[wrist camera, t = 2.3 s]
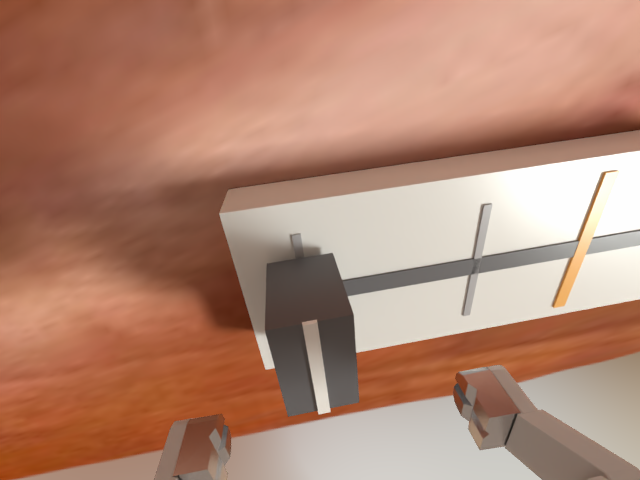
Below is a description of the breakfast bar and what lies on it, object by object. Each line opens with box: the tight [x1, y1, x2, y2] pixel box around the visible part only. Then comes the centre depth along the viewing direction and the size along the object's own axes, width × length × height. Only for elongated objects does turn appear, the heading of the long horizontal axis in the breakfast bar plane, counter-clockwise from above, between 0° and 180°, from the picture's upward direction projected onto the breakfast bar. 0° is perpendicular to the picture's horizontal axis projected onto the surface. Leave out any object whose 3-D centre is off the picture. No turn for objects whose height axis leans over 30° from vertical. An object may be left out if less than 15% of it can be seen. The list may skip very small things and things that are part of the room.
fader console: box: [219, 130, 640, 370], centre depth 17 cm, size 24×10×3 cm, turn 96°
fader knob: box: [265, 253, 359, 417], centre depth 13 cm, size 3×5×4 cm, turn 6°
